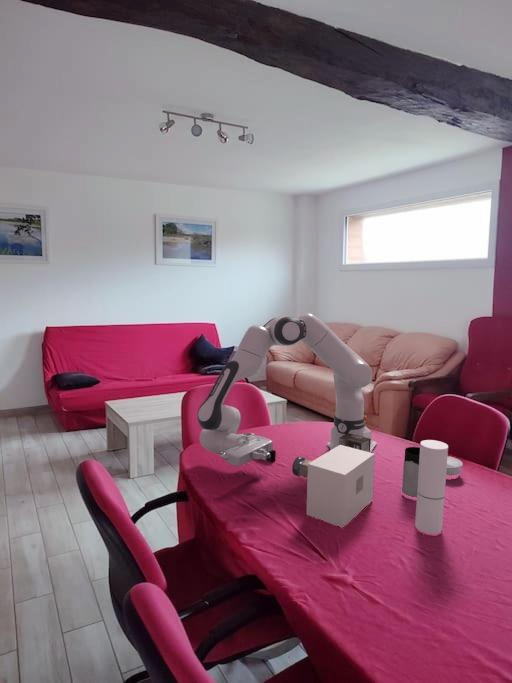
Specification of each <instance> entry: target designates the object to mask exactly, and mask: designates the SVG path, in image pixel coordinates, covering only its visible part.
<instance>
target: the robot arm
mask: <svg viewBox="0 0 512 683" xmlns="http://www.w3.org/2000/svg"><path fill="white" fill-rule="evenodd" d="M299 341H301V342H303V343H304V344H305V346H307V348H308V349H310V350H311V351H312V353H314V354H315V355H316V356H317V357H318V358H319V359H320V360H321V361H322V362H323V363H324V364H325V365H326V366H327V367H328V368H329V369H331V370H332V373H333V382H334V384H333V385H334V390H335V415H334V418H333V426H332V427H331V429H330V436H329V437H330V438H329V441H328V442H327V443H326V445H327V447H328V448H329V449H330V450H332V449H334V448H335V447H337V446H339V437H342V436H343V435H345V434H347V433H350V434H354V435H358V436H362V437H366V438H369V439H371V442H370V453H371V451H372V450H373V448H374V447H375V445H376V444H377V445H378V442H376V441H375V440H373V439H372V431H371V430H370V429H369V428H368V427H367V426H366V422H367V421H368V416H367V415H364V407H365V399H364V393H363V391H362V389H363V388H365V387H368V386H369V385H370V384H371V382H372V381H373V376H374V372H373V370H372V368H371V366H370V365H369V364H368V362H366V361H365V360H364V359H363V358H362V357H361V356H360V355H359V354H357V353H356V352H355V350H353V349H352V348H351V347H350V346H349V345H347V344H346V343H345V342H344V341H343V340H342V339H341V338H340V337H338V335H337V334H336V333H335V332H334V331H333V330H332V329H331V328H330V327H329V326H328V325H327V324H326V323H324V321H323V320H321V319H320V318H319V317H317V316H315V315H314V314H312V313H311V312H306V313H302V314H301V315H299V316H297V318H296V317H293V316H278V317H274V318H271V319H269V321H267V322H266V323H265V324H264V325H259V324H253V325H251V326H250V327H248V328H247V330H246V331H245V333H244V335H243V337H242V338H241V341H240V343H239V344H238V345H239V346H238V347H237V350H236V352H235V354H234V355H233V357H232V358H231V359H230V361H229V362H227V363H226V364H225V365H224V366H223V367H222V369H221V371H220V373H219V375H218V377H216V380H215V382H214V384H213V386H212V387H211V389H210V391H209V392H208V393H209V394H208V395H207V396H206V398H205V399H204V401H203V402H202V403H201V405H199V407H198V410H197V412H196V413H197V414H196V418H197V422H198V424H199V426H200V427H201V428H202V429H201V431H200V433H199V443H200V445H201V447H203V449H205V450H207V451H209V452H210V453H214V454H216V455H219V457H220V458H221V459H224V461H225V462H226V463H228V464H230V465H232V466H235V467H241V466H242V465H245V464H246V463H250V462H251V461H253V460H262V461H263V460H264V461H266V459H268V458H270V453H269V451H271V450H272V449H273V450H274V448H273V446H274V443H273V440H271V439H270V438H268V437H265V436H262V435H261V436H260V435H256V434H255V433H254V432H248V433H238V432H239V429H240V425H241V422H242V414H241V412H240V410H239V409H238V408H237V407H234V406H231V405H227V404H224V403H225V401H226V398H227V397H228V395H229V392H230V391H231V389H232V387H233V386H234V384H235V383H237V382H238V381H239V380H243V379H247V378H251V377H254V376H256V375H257V374H259V373H260V371H261V369H262V368H263V365H264V363H265V360H266V357H267V355H268V352H269V351H270V349H271V347H273V346H274V345H275V346H276V345H277V346H283V347H285V346H294V345H295V344H297V343H298V342H299ZM375 448H376V447H375ZM330 450H329V451H330ZM373 451H374V450H373ZM373 451H372V452H373Z"/></svg>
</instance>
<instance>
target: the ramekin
mask: <svg viewBox="0 0 512 683" xmlns="http://www.w3.org/2000/svg"><path fill="white" fill-rule="evenodd" d="M463 464H464V463H463V461H461V460H460V459H458V458H456V457H453V456H447V470H446V475H449V476H450V475H451V476H452V475H457V474H459V473H460V474H462V473H461V472H462V468H463V466H464V465H463Z"/></svg>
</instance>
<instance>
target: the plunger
mask: <svg viewBox="0 0 512 683" xmlns="http://www.w3.org/2000/svg"><path fill="white" fill-rule="evenodd" d="M312 461H313V460H308V459H306V458H305V457H303V456H296V458H294V461H293V462H292V467H291V470H292V471H291V472H292V473H293V475H294V476H297V477H303V478H307V479H308V464H309V463H310V462H312Z"/></svg>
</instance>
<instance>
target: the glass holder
mask: <svg viewBox="0 0 512 683" xmlns="http://www.w3.org/2000/svg"><path fill="white" fill-rule="evenodd" d="M419 457H420V446H419V447H418V446H408V447H406V448H405V449H404V461H403V468H402V486H401V490H402V492H403V493H404V494H406V495H408V496H411V497H417V489H418V473H419Z"/></svg>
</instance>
